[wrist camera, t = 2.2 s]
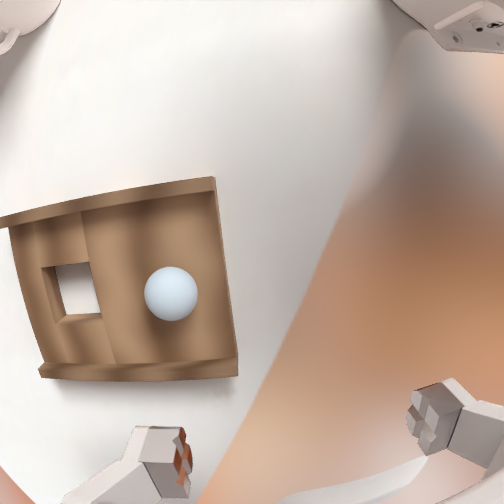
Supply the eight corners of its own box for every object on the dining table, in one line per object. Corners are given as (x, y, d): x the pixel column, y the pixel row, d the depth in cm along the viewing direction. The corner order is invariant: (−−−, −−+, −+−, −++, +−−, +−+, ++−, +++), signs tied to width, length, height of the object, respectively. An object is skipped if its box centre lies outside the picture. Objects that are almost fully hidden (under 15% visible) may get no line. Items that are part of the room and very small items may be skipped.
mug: (44, 60, 22) (-17, 27, 12) (-8, 73, 22) (-67, 53, 12) (75, -28, 20) (35, -74, 10) (21, -11, 19) (-23, -44, 9)
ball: (196, 258, 25) (189, 272, 21) (204, 306, 25) (198, 327, 22) (147, 263, 24) (132, 278, 21) (156, 310, 25) (144, 331, 21)
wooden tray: (215, 177, 26) (211, 176, 22) (237, 353, 29) (238, 376, 25) (20, 213, 25) (-3, 218, 21) (57, 359, 29) (41, 377, 25)
